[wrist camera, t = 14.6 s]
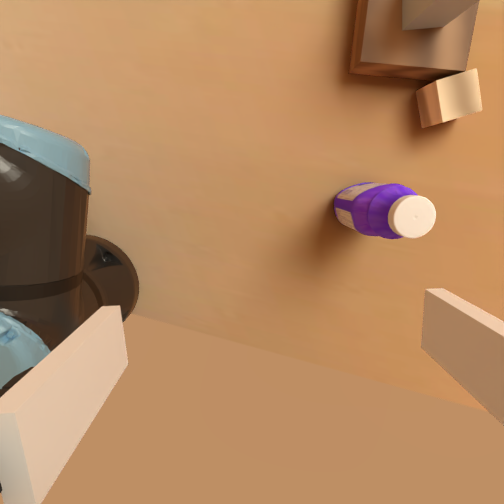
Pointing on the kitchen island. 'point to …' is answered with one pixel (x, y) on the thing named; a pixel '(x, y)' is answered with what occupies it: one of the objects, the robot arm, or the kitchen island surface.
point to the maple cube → (449, 98)
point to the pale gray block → (432, 12)
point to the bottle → (384, 210)
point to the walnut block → (408, 43)
